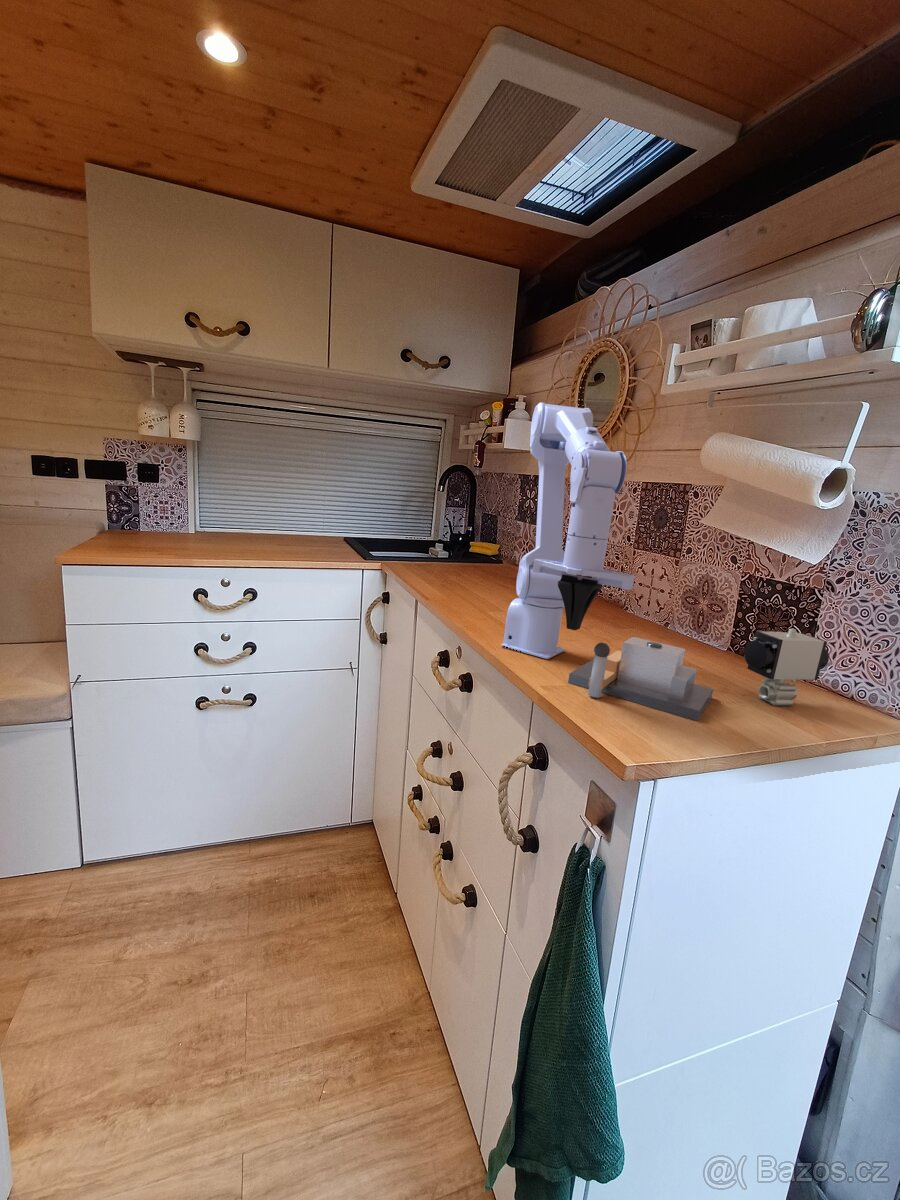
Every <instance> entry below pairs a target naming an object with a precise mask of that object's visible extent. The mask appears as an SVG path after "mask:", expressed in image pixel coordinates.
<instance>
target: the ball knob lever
mask: <svg viewBox="0 0 900 1200" xmlns="http://www.w3.org/2000/svg"><path fill="white" fill-rule="evenodd" d="M610 652H611V649H610V645H608V644H607V643H605V642H598V643H596V644H595V646H594V647H593V653H594V655H593V656H594V657H593V659H594V662H593V668H592V674H591V677H590V678H589V683H588V686H589V689H588V691H587V692H588V694H587V695H588V696H590V697H592V698H601V697H602V693H601V692H602V689H603V688H604V687H605V686H607V685H608V684H609V683H611V682H612V681H613V680H615V679H616V678H617V676H618V670H619V664H620V659H621V653H622V650H619V649H617V650H616V651H614V652H612V653H611V654H610Z"/></svg>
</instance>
